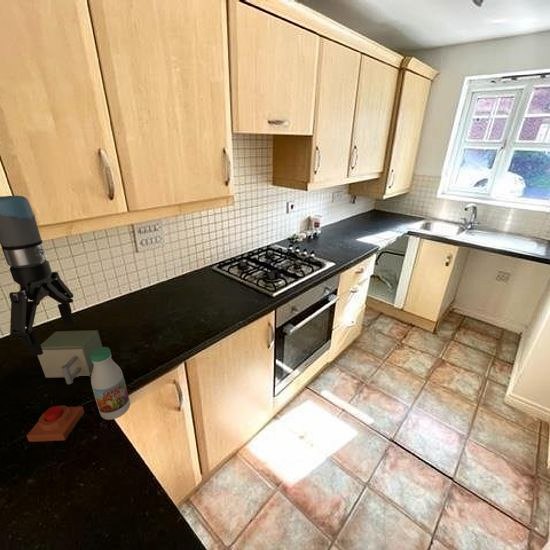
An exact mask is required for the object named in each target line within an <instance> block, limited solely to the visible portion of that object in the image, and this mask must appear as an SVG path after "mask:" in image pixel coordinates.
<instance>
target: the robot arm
mask: <svg viewBox="0 0 550 550" xmlns="http://www.w3.org/2000/svg"><path fill="white" fill-rule="evenodd" d="M43 243H44V242H43V240H42V236H41V233H40V230H39V227H38V223H37V219H36V214H35V212H34V210H33V208H32V206H31V203H30V200H29V199H28V197H25V196H23V195H4V196H0V247H1V250H2V253H3V256H4V258H5V262H6V264H7V265H8V266H9V271H10V275H11V277H12V280H13V282H15V283H16V284H18V285H19V291H11V292H9V295H8V296H9V299H10V324H9V325H10V327H9V336H11V337H17V336H20V339H21V340H22V343H23V346H25V347H26V349H27V352H28V354H29V356H38V355H42V354H43V351H42V348H41V343H40V340H39V337H38V334H37V331H36V330H35V329H34V330H33V326H34V323H35V318H36V312H37V308H38V306H39V305H40V303H41V301H42V300H43V299H45V298H47V297H49V298H51V299H52V300H54V301H56V302H57V303H59V304H57V308H58V312H59V315H60V318H61V320H62V324H63V327H64V326H75V325H76V322H75V318H74V315H73V311H72V307H71V304H73V302H74V299H73V298H74V294H73V292H72V291H71V290H70V288H69V287H68V286H67V285H66V284H65V282H64V281H63V280H62V279H61V277H60V274H59V272H58V271H53V270H52V268H51V265H50V262H49V261H48V260H47V259H48V256H47V253H46V249H45V246H44V244H43Z"/></svg>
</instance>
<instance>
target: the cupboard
mask: <svg viewBox="0 0 550 550" xmlns="http://www.w3.org/2000/svg"><path fill="white" fill-rule="evenodd" d="M40 345H41V348H42V349H62V348H83V349H84V353H85V356H86V359H87V363H88V366H89V369H90V373H91V375H92V371H93V366H94V364H93V363H92V360H91V357H90V354H91V352H92V351H93V350H95V349H97V348H100V347H103V344H102V341H101V337H100V333H99V330H98V329H96V330H65V331H63V330H62V331H55V332H54V333H52V334H51V335H50V336H49V337H48V338H46V339H45V340H44V341H43V342H42V343H40ZM55 378H56V379H57V378H58V379H59V378H60V377H50V378H49V379H55Z"/></svg>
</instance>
